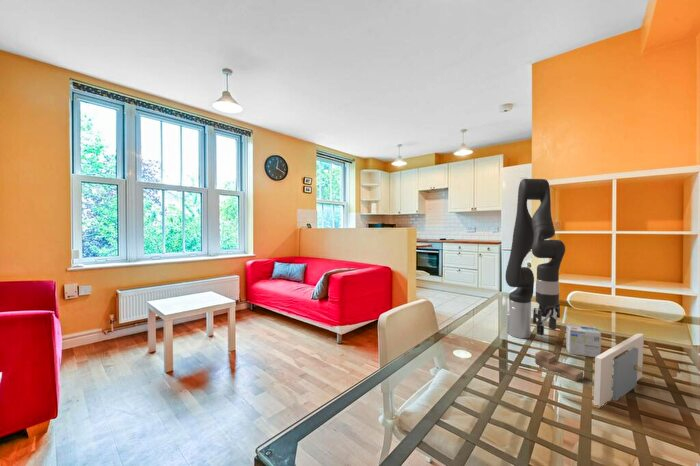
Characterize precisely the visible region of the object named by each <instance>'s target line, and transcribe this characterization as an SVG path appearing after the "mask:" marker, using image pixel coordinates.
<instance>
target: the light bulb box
mask: <svg viewBox="0 0 700 466" xmlns="http://www.w3.org/2000/svg"><path fill="white" fill-rule="evenodd" d="M565 325H566V326H565V328H566V329H565V333H566V334H565V338H566V339H565V348H566V350H567V353H568V354H570V355H577V356H584V357H591V358H595V357H596V356H598V355H600V354H602V352H601V349H602V348H601V347H602V346H601V345H602V333H601V332H600V330H599V329H598V328H597V327H596V326H586V325H575V324H568V323H567V324H565Z"/></svg>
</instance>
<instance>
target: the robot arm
mask: <svg viewBox="0 0 700 466" xmlns="http://www.w3.org/2000/svg"><path fill="white" fill-rule="evenodd" d="M530 200H531V201H532V200H533V201H539V202H540V205H539V206H538V208H537V209H536V211H535V212H534V213H533V215H532V216H531V214H530V211H529V209H528V201H530ZM551 203H552V200H551V187H550V183H549V181H548V180H547V179H545V178H523V179H521V180H520V182H519V185H518V190H517V204H516V215H515V222H514V227H513V232H512V233H513V234H512V239H511V240H512V243H511V246H510V247H511V249H510V253H509V257H508V262H507V266H506V270H505V282H506V284H507V285H508V286H509V287H510V288H516V289H514V290H513V291H511V292H510V293H509V294H508V313H507V314H506V333H508V334H509V335H510V336H512V337H515V338H518V339H529V338H531V335H532V334H531V333H532V332H531V331H532V330H531V329H532V328H531V327H532V324H531V323H533V324H535V325H536V334H538V335H540V336H543V335H545V324H546V322H547V321H548V319H549V321H548V328H549V329H550V330H552V331H555V330H557V321H558V319H560V318H561V305H560V282H559V281H560V279H559V275H560V274H559V273H560V268H561V264H562V261H563V258H564V255H565V254H566V245H565V243H564V242H563V241H562V240H561V239H551V238H553V237H554V236H555V234H556V229H555V226H554V222H553V217H552V209H551V207H552V206H551V205H552V204H551ZM530 252H531V253H532V255H533V256H534V257H535V258H537V259H550V261H548V262H545V263H540V264H538V265H537V266H536V283H535V276H534V272H533V271H532V269H531V268H529V267H527V266H523V262H524V260H525V258H526V257H527V255H528V254H529V253H530ZM534 287H535V302H536V303H537V304H538V308H536V307H534V308H533V314H532V298H533V296H534ZM532 316H533V317H532Z"/></svg>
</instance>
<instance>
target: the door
mask: <svg viewBox="0 0 700 466" xmlns="http://www.w3.org/2000/svg"><path fill="white" fill-rule="evenodd" d="M637 371H639V372H642V373H643V366H642V367H640V366H638V348H633V349H631V350H630V351H625V353H622V354H620V356H617V358H616V357H615V358H614V359H613V371H612V394H611V400H613V399H614V400H613V401H615V400H617V399H618V400H619V398H620V397H621V396H622V395H624V394H625V395H626V394H628V393H629V392H630V391H632V390H633V389H634V388H635V387H637V384H638V383H637V382H638V381H637ZM625 395H624V396H625ZM622 397H623V396H622ZM622 397H621V398H622ZM621 398H620V399H621ZM618 400H617V401H618Z"/></svg>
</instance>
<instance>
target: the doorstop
mask: <svg viewBox="0 0 700 466" xmlns="http://www.w3.org/2000/svg"><path fill="white" fill-rule="evenodd" d="M534 358H535V359H534V362H535V363H536V364H537V365H536V364H535V363H534V364H535V365H536V366H538V365H539V367H541V368H542V369H543V368H544V369H546V370H548V371H551V372H552V371H555V372H558V373H560V374H562V375H564V376H566V377H567V378H566V377H565V378H566V379H568V380H571V381H573V382H575V383H577V382H579V381H580V380H581V379H583V378H584V371H583V370H582V369H581V370H580V369H578V368H576V367H573V366H571V365H569V364H566V363H564V362H561V361H558V360H557V355H556V354H554V353H552V352H549V351H547V350H544V349H543V350H542V349H541V350H540V351H538V352H536V353H535V357H534Z"/></svg>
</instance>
